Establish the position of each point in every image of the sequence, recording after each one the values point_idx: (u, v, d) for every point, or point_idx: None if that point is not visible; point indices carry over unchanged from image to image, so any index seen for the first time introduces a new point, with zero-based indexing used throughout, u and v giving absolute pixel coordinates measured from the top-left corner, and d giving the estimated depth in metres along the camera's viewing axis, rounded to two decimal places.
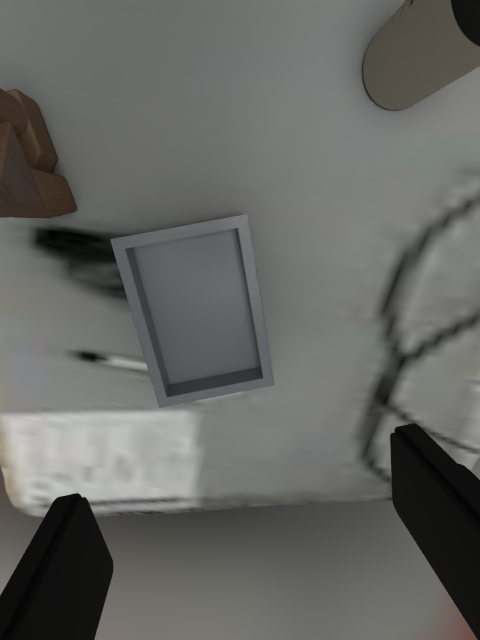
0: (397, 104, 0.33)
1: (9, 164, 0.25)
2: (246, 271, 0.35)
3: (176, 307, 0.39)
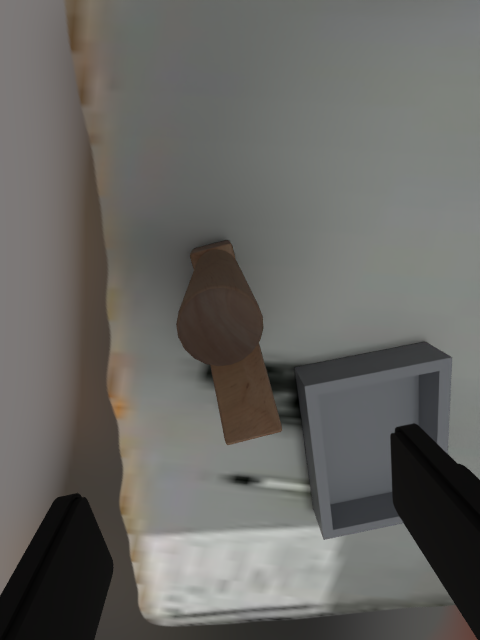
0: None
1: None
2: (439, 411, 0.32)
3: (344, 434, 0.36)
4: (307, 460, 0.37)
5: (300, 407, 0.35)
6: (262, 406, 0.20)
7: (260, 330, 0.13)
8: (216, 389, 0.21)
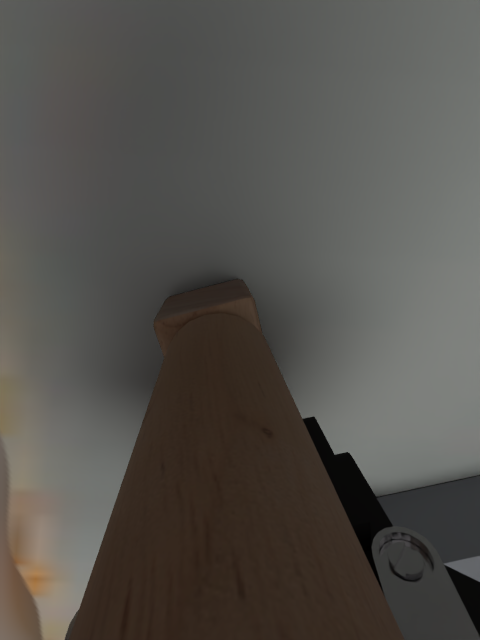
0: None
1: None
2: None
3: None
4: None
5: None
6: None
7: None
8: None
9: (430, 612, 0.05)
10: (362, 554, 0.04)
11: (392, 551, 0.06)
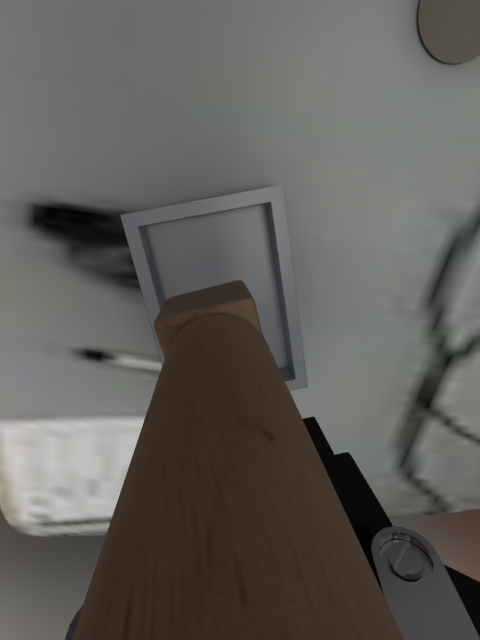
0: (459, 54, 0.28)
1: None
2: (279, 253, 0.30)
3: None
4: None
5: None
6: None
7: None
8: None
9: (430, 612, 0.05)
10: (364, 558, 0.04)
11: (392, 551, 0.06)
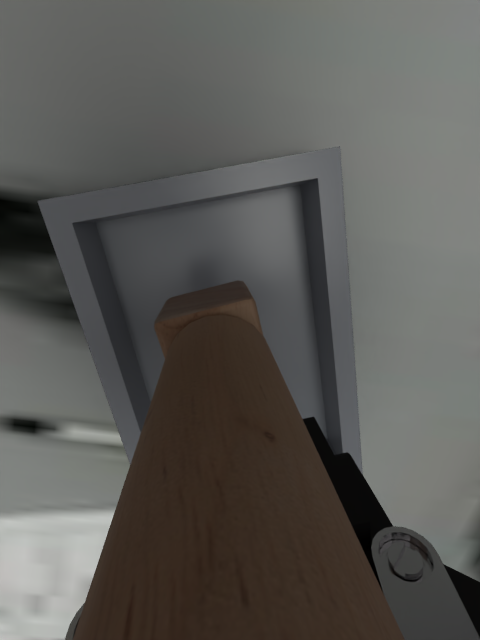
0: None
1: None
2: (328, 272, 0.17)
3: None
4: None
5: None
6: None
7: None
8: None
9: (430, 612, 0.05)
10: (365, 560, 0.04)
11: (392, 551, 0.06)
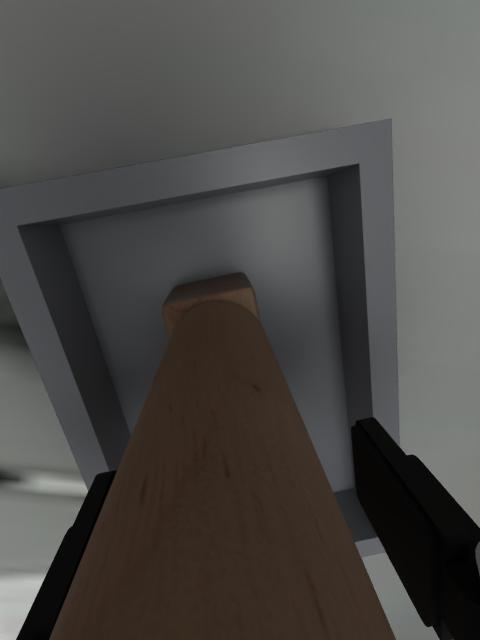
0: None
1: None
2: (369, 291, 0.13)
3: None
4: None
5: None
6: None
7: None
8: None
9: None
10: (324, 476, 0.05)
11: None
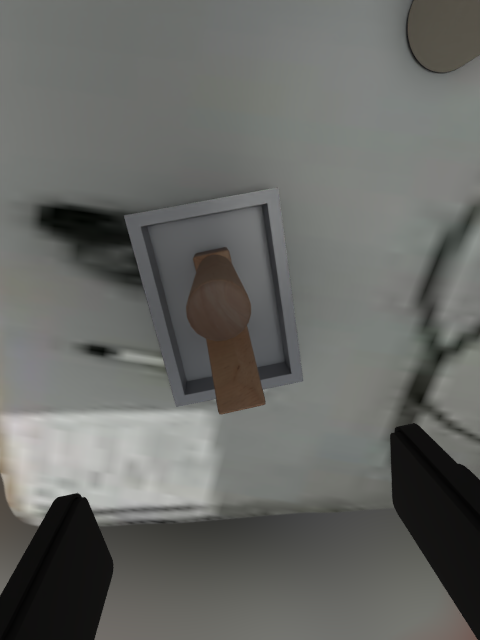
0: (446, 64, 0.30)
1: None
2: (275, 253, 0.31)
3: None
4: None
5: None
6: (250, 384, 0.24)
7: (248, 314, 0.17)
8: (212, 370, 0.25)
9: None
10: (237, 275, 0.23)
11: None
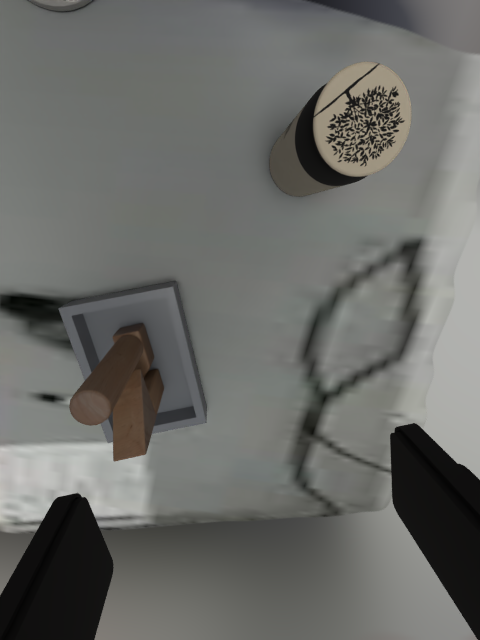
0: (297, 195, 0.40)
1: (145, 409, 0.37)
2: (175, 331, 0.42)
3: None
4: None
5: None
6: (137, 439, 0.35)
7: (109, 409, 0.28)
8: (113, 428, 0.35)
9: None
10: (125, 365, 0.34)
11: None
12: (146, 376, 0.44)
